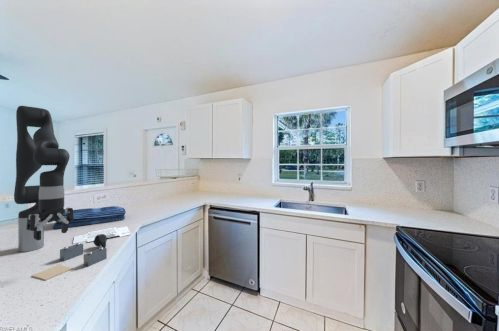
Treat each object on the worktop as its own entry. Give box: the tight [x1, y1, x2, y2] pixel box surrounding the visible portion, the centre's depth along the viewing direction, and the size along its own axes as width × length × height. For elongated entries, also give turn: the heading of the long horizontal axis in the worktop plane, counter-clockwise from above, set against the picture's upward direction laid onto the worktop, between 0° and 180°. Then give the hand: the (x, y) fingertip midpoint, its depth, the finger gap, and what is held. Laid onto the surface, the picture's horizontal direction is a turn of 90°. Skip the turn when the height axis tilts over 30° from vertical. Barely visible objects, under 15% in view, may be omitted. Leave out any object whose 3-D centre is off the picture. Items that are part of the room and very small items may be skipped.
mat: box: [31, 264, 74, 281], centre depth 83 cm, size 9×9×1 cm
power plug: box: [93, 234, 108, 248], centre depth 107 cm, size 6×8×12 cm
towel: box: [52, 205, 127, 230], centre depth 158 cm, size 24×43×10 cm, turn 127°
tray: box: [72, 225, 132, 245], centre depth 127 cm, size 20×28×4 cm
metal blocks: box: [59, 242, 108, 267], centre depth 95 cm, size 19×8×6 cm, turn 72°
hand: (51, 236), depth 83 cm, fingers open, 8 cm apart
